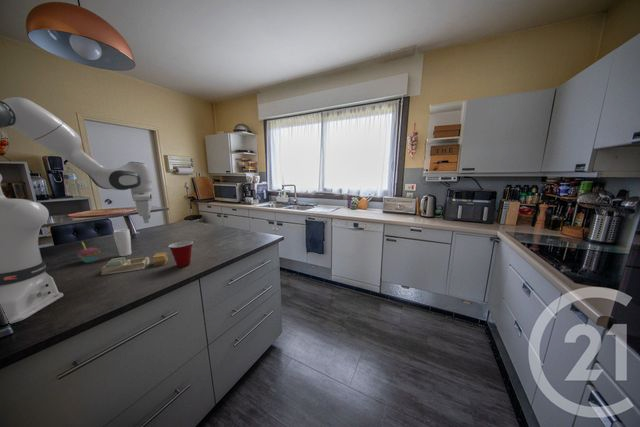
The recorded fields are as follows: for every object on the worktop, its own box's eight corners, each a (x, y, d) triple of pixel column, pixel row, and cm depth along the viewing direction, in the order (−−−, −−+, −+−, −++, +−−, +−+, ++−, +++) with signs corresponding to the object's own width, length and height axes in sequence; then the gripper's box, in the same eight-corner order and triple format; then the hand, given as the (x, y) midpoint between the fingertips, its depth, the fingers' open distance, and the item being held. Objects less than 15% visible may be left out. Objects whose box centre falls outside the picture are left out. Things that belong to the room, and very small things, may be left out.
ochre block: (165, 264, 111) (164, 255, 110) (154, 266, 109) (152, 257, 108) (167, 260, 115) (166, 252, 114) (156, 262, 113) (155, 253, 112)
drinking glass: (123, 257, 119) (119, 232, 116) (114, 256, 120) (109, 231, 117) (136, 253, 125) (132, 229, 122) (127, 252, 127) (123, 228, 124)
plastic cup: (189, 258, 118) (187, 238, 115) (199, 263, 112) (196, 242, 109) (167, 265, 109) (164, 243, 107) (176, 271, 103) (173, 248, 101)
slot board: (143, 268, 105) (142, 259, 104) (101, 275, 98) (99, 265, 98) (150, 261, 114) (148, 252, 113) (111, 266, 107) (110, 257, 106)
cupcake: (89, 264, 110) (84, 242, 108) (73, 264, 110) (68, 242, 108) (106, 257, 118) (102, 237, 116) (91, 257, 119) (87, 237, 116)
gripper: (137, 192, 113) (141, 216, 116) (132, 198, 97) (137, 226, 100) (152, 191, 116) (156, 215, 120) (149, 197, 100) (153, 224, 103)
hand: (147, 220), depth 110 cm, fingers open, 8 cm apart
